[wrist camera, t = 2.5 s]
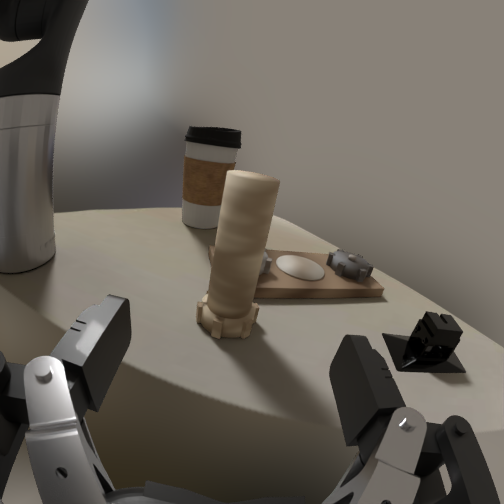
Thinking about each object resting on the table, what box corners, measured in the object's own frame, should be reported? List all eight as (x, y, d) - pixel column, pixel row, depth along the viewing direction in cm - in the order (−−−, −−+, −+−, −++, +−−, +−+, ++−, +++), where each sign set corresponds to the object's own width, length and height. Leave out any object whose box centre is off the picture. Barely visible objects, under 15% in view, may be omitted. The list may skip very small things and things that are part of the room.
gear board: (219, 296, 26) (224, 265, 25) (208, 254, 34) (212, 228, 33) (380, 296, 32) (390, 273, 31) (345, 263, 40) (352, 242, 39)
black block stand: (449, 340, 26) (468, 308, 24) (475, 381, 20) (499, 347, 18) (364, 330, 26) (382, 292, 25) (382, 383, 20) (408, 341, 18)
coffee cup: (237, 228, 45) (256, 133, 39) (194, 235, 39) (211, 125, 33) (204, 211, 50) (218, 127, 44) (163, 216, 44) (176, 121, 38)
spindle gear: (199, 339, 21) (222, 177, 16) (194, 303, 25) (212, 165, 20) (261, 338, 22) (301, 189, 17) (247, 304, 26) (276, 175, 21)
